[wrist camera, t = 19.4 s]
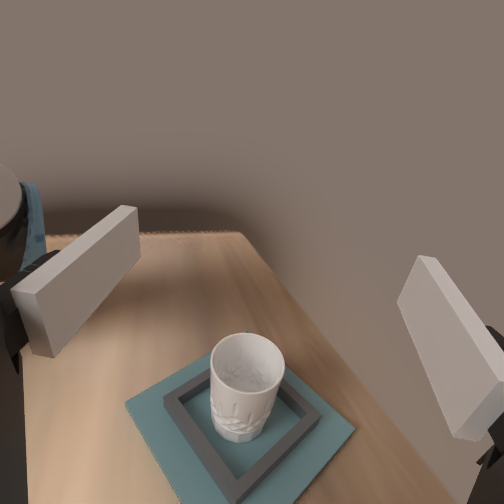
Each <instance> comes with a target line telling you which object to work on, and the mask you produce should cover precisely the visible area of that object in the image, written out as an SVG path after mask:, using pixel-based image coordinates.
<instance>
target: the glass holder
mask: <svg viewBox="0 0 504 504" xmlns="http://www.w3.org/2000/svg"><path fill="white" fill-rule="evenodd" d="M245 333H250V332H248V331H247V332H245ZM211 354H212V352H211V353H209V354H207V355H205V356H204V357H202V358H200V359H198V360H197V361H195V362H193V363H192V364H190V365H188V366H186V367H185V368H183V369H181V370H180V371H178V372H176V373H174V374H173V375H171V376H169V377H167V378H166V379H164V380H162V381H161V382H159V383H157V384H155V385H154V386H152V387H150V388H148V389H147V390H145V391H143V392H142V393H140V394H138V395H136V396H135V397H133V398H131V399H130V400H128V401H126V402H125V405H126V408H127V410H128V412H129V413H130V415H131V417H132V419H133V420H134V422H135V424H136V426H137V427H138V429H139V431H140V432H141V434H142V436H143V438H144V439H145V441H146V443H147V445H148V446H149V448H150V450H151V452H152V453H153V455H154V457H155V458H156V460H157V462H158V464H159V465H160V467H161V469H162V471H163V472H164V474H165V476H166V477H167V479H168V481H169V483H170V484H171V486H172V488H173V490H174V491H175V493H176V495H177V496H178V498H179V500H180V502H181V503H182V504H294V503H295V502H296V500H297V499H298V498H299V497H300V496H301V494H302V493H303V492H304V491H305V490H306V488H307V487H308V486H309V485H310V484H311V483H312V481H313V480H314V479H315V478H316V477H317V475H318V474H319V473H320V472H321V471H322V469H323V468H324V467H325V466H326V465H327V463H328V462H329V461H330V460H331V459H332V458H333V456H334V455H335V454H336V453H337V452H338V450H339V449H340V448H341V447H342V446H343V444H344V443H345V442H346V441H347V440H348V438H349V437H350V436H351V435H352V434H353V432H354V430H355V428H354V427H353V426H352V425H351V424H350V423H349V422H347V421H346V420H345V419H344V418H343V417H342V416H341V415H340V414H339V413H338V412H336V411H335V410H334V409H333V408H332V407H331V406H330V405H329V404H328V403H327V402H325V401H324V400H323V399H322V398H321V397H320V396H319V395H318V394H317V393H316V392H314V391H313V390H312V389H311V388H310V387H309V386H308V385H307V384H306V383H305V382H303V381H302V380H301V379H300V378H299V377H298V376H297V375H296V374H295V373H294V372H292V371H291V370H290V369H289V368H288V367H287V366H286V365H285V371H284V375H283V378H282V381H281V384H280V387H279V389H278V392H277V396H276V399H275V401H274V404H273V407H272V409H271V412H270V415H269V417H268V418H267V421H266V424H265V426H264V428H263V430H262V432H261V434H260V435H258V436H257V437H256V438H254V439H253V440H252V441H250V442H243V443H234V442H231V441H228V440H225V439H224V438H223V437H222V436H221V435H220V434H219V433H218V432H217V431H216V430H215V428H214V425H213V423H212V420H211V403H210V359H211Z"/></svg>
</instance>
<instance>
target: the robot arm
mask: <svg viewBox="0 0 504 504" xmlns="http://www.w3.org/2000/svg"><path fill="white" fill-rule="evenodd" d="M140 257H141V252H140V239H139V226H138V212H137V208H136V207H130V206H124V205H121V206H120V207H118V208H117V209H116V210H114V211H113V212H112V213H110V214H109V215H108V216H106V217H105V218H104V219H102V220H101V221H100V222H99V223H97V224H96V225H94V226H93V227H92V228H90V229H89V230H88V231H87V232H85V233H84V234H83V235H81V236H80V237H79V238H77V239H76V240H75V241H73V242H72V243H71V244H69V245H68V246H67V247H65V248H64V249H63V250H61V251H60V250H54V251H52V252H49V253H47V250H46V241H45V232H44V221H43V213H42V205H41V198H40V192H39V189H38V187H37V186H35V185H34V184H29V183H25V182H18V180H17V178H16V177H15V175H14V174H13V173H12V172H11V171H10V170H9V169H7V168H6V167H5V166H3V165H2V164H0V282H4V283H3V284H2V285H0V504H28V487H27V463H26V439H25V415H24V390H23V366H22V356H21V353H20V350H21V349H22V348H23V347H24V346H25V345H26V344H27V343H28V342H29V345H30V348H31V350H32V353H33V354H35V355H40V356H45V357H50V358H55V357H56V356H57V355H58V353H59V352H60V351H61V350H62V349H63V348H64V346H65V345H66V344H67V343H68V342H69V341H70V339H71V338H72V337H73V336H74V335H75V333H76V332H77V331H78V330H79V329H80V328H81V326H82V325H83V324H84V323H85V322H86V321H87V319H88V318H89V317H90V316H91V315H92V314H93V312H94V311H95V310H96V309H97V308H98V306H99V305H100V304H101V303H102V302H103V301H104V299H105V298H106V297H107V296H108V295H109V294H110V292H111V291H112V290H113V289H114V288H115V287H116V285H117V284H118V283H119V282H120V281H121V280H122V278H123V277H124V276H125V275H126V274H127V272H128V271H129V270H130V269H131V268H132V267H133V265H134V264H135V263H136V262H137V261H138V260H139V258H140ZM397 304H398V306H399V309H400V311H401V314H402V316H403V319H404V321H405V323H406V326H407V328H408V331H409V333H410V335H411V338H412V340H413V343H414V345H415V347H416V349H417V352H418V354H419V357H420V359H421V362H422V364H423V367H424V369H425V371H426V374H427V376H428V379H429V381H430V383H431V386H432V388H433V391H434V393H435V396H436V398H437V400H438V402H439V405H440V407H441V410H442V412H443V415H444V417H445V419H446V422H447V424H448V427H449V429H450V432H451V434H452V436H453V437H455V438H461V439H465V440H470V441H475V442H478V441H479V440H480V439H481V438H482V437H483V436H484V435H485V433H486V432H487V431H488V432H489V433H490V435H491V437H492V439H493V441H494V443H495V444H494V445H493V446H492V447H491V448H490V449H489V450H488V451H487V452H486V453H485V454H484V455H483V456H482V457H481V458H480V459H479V460H478V461H477V462H476V463H477V464H479V465H481V464H482V463H483V465H482V468H481V470H480V472H479V475H478V477H477V479H476V482H475V485H474V487H473V489H472V492H471V494H470V497H469V499H468V502H467V504H504V337H503V336H502V335H501V334H499V333H498V332H497V331H495V329H493V328H492V327H491V326H485V325H484V324H483V323H482V321H481V320H480V319H479V317H478V316H477V314H476V313H475V312H474V310H473V309H472V308H471V306H470V305H469V303H468V302H467V301H466V299H465V298H464V297H463V295H462V294H461V292H460V291H459V289H458V288H457V287H456V285H455V284H454V283H453V281H452V280H451V278H450V277H449V276H448V274H447V273H446V271H445V270H444V269H443V267H442V266H441V264H440V263H439V262H438V261H437V259H436V258H433V257H427V256H420V255H419V256H418V258H417V260H416V262H415V264H414V266H413V268H412V271H411V273H410V275H409V277H408V279H407V281H406V283H405V285H404V288H403V290H402V292H401V294H400V296H399V298H398V300H397Z"/></svg>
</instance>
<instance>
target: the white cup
mask: <svg viewBox="0 0 504 504" xmlns="http://www.w3.org/2000/svg"><path fill="white" fill-rule="evenodd" d="M284 371H285V361H284V358H283V355H282V353H281V351H280V350H279V349H278V347H277V346H276V345H275V344H274V343H273V342H271V341H270V340H268V339H267V338H265V337H263V336H260V335H257V334H253V333H236V334H232V335H229V336H227V337H225V338H224V339H222V340H221V341H220V342H218V343H217V345H216V346H215V347H214V349H213V351H212V354H211V359H210V403H211V420H212V423H213V425H214V428H215V430H216V431H217V432H218V433H219V434H220V435H221V436H222V437H223V438H224V439H225V440H228V441H231V442H234V443H243V442H250V441H252V440H253V439H254V438H256V437H257V436H258V435H260V434H261V432H262V430H263V428H264V426H265V424H266V421H267V418H268V417H269V415H270V412H271V409H272V407H273V404H274V401H275V399H276V396H277V392H278V389H279V387H280V384H281V381H282V378H283V375H284Z"/></svg>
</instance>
